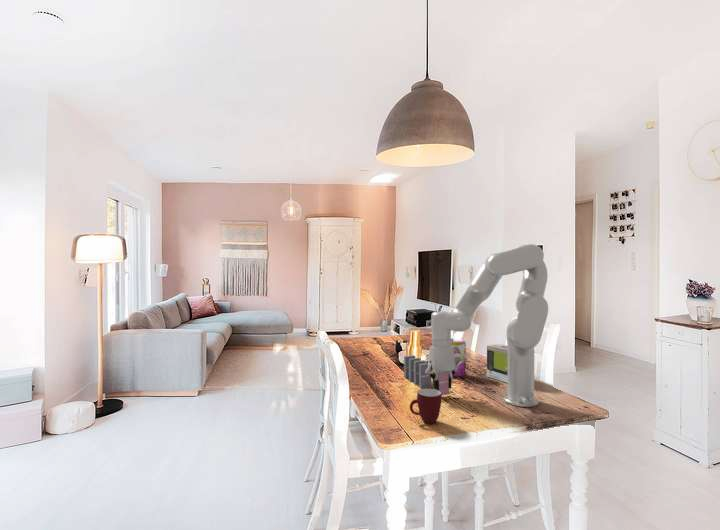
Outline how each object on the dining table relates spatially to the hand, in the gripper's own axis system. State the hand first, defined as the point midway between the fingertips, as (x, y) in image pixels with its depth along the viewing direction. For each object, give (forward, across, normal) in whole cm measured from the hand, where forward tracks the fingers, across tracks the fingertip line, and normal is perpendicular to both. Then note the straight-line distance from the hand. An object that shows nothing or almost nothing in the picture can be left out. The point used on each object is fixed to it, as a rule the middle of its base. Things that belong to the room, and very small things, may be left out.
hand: (442, 388), depth 157 cm
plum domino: (+2, 0, 0) cm, 2 cm away
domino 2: (+3, 0, -23) cm, 23 cm away
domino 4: (+3, 0, -13) cm, 13 cm away
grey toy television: (+4, -39, -9) cm, 41 cm away
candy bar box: (+4, -20, -24) cm, 31 cm away
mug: (+4, +18, +19) cm, 27 cm away
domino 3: (+3, 0, -18) cm, 18 cm away
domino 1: (+3, 0, -27) cm, 28 cm away
